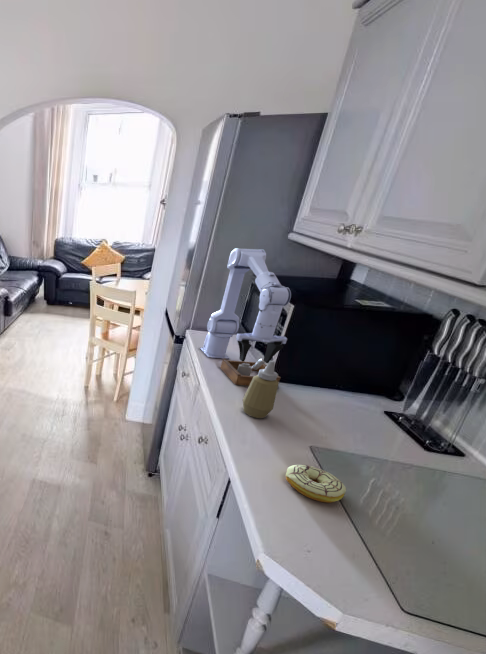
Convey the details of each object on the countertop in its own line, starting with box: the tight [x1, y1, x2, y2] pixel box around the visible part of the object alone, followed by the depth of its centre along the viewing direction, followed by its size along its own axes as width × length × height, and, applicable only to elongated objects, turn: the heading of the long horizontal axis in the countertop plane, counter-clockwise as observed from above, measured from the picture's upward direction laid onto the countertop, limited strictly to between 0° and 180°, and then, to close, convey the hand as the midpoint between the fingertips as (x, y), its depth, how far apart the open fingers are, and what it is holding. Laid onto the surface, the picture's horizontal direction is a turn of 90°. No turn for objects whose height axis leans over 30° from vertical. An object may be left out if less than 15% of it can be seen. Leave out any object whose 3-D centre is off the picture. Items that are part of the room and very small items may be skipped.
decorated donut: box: [285, 464, 347, 503], centre depth 92 cm, size 10×11×4 cm
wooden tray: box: [219, 358, 281, 387], centre depth 143 cm, size 14×14×4 cm
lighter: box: [237, 358, 266, 376], centre depth 143 cm, size 7×2×8 cm, turn 61°
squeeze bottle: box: [242, 360, 280, 419], centre depth 118 cm, size 8×8×18 cm
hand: (253, 361), depth 133 cm, fingers open, 7 cm apart
